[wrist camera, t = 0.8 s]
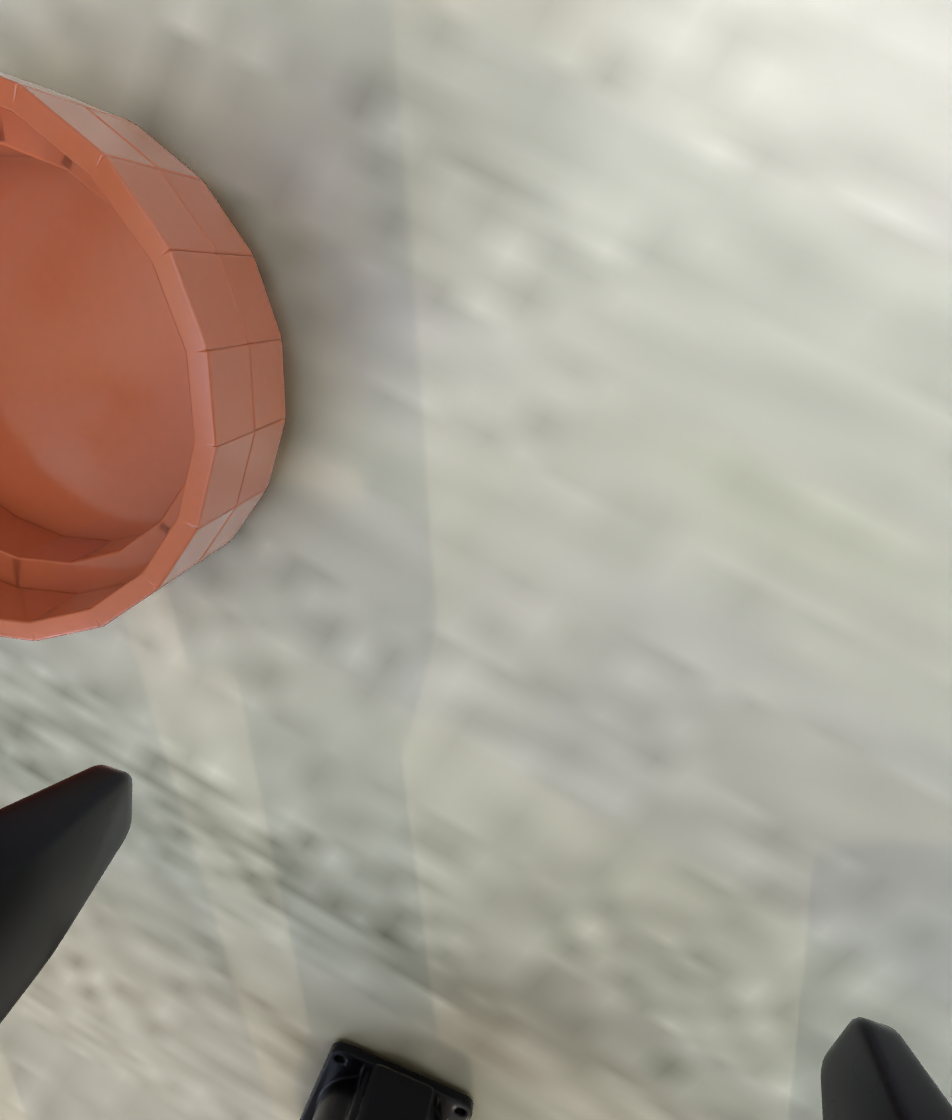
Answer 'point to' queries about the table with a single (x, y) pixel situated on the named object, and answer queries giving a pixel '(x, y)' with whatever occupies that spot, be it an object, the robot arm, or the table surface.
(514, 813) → the table surface
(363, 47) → the table surface
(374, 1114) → the robot arm
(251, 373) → the bowl
